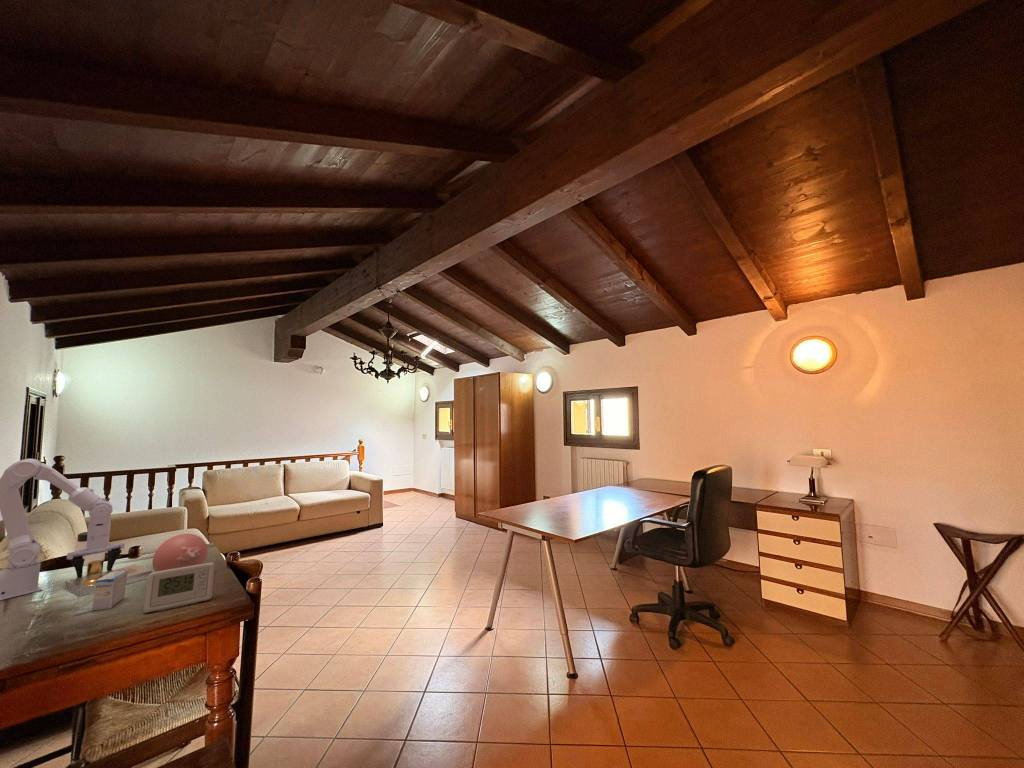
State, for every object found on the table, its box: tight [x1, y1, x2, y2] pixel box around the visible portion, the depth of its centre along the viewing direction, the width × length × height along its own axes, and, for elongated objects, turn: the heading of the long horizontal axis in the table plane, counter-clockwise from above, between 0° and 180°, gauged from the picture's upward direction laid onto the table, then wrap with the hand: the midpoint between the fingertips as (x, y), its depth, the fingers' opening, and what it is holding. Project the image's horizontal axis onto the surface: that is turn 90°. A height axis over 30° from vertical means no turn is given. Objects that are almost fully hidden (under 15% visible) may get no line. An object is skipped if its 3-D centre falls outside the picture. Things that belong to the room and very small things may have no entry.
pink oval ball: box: [151, 533, 209, 572], centre depth 141 cm, size 15×20×15 cm
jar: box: [72, 531, 106, 567], centre depth 160 cm, size 9×8×12 cm
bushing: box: [85, 559, 105, 576], centre depth 142 cm, size 4×4×6 cm
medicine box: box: [91, 571, 127, 611], centre depth 121 cm, size 8×4×9 cm, turn 23°
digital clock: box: [143, 562, 215, 613], centre depth 121 cm, size 16×9×11 cm, turn 114°
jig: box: [64, 564, 152, 597], centre depth 138 cm, size 18×14×4 cm
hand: (94, 574), depth 142 cm, fingers open, 7 cm apart
